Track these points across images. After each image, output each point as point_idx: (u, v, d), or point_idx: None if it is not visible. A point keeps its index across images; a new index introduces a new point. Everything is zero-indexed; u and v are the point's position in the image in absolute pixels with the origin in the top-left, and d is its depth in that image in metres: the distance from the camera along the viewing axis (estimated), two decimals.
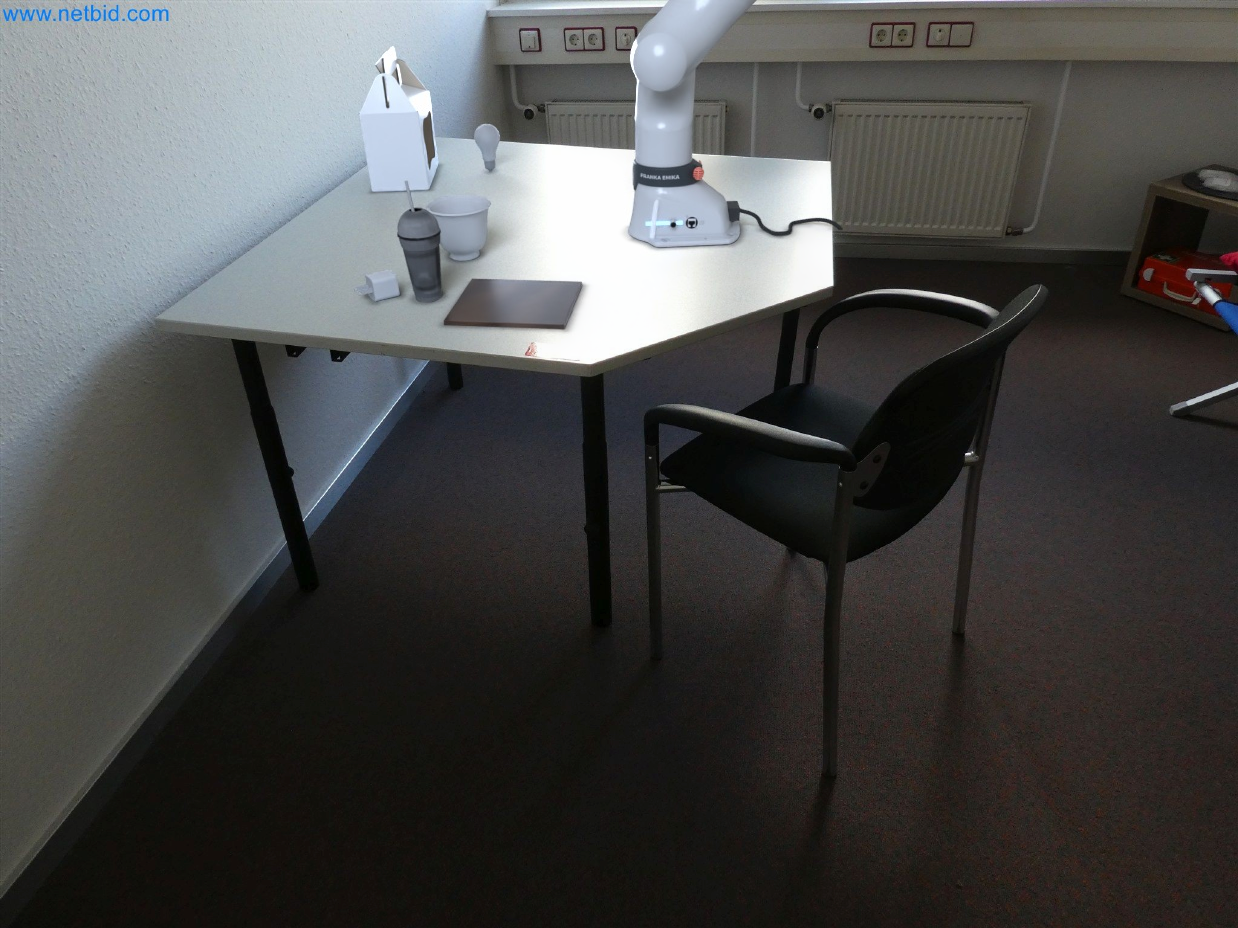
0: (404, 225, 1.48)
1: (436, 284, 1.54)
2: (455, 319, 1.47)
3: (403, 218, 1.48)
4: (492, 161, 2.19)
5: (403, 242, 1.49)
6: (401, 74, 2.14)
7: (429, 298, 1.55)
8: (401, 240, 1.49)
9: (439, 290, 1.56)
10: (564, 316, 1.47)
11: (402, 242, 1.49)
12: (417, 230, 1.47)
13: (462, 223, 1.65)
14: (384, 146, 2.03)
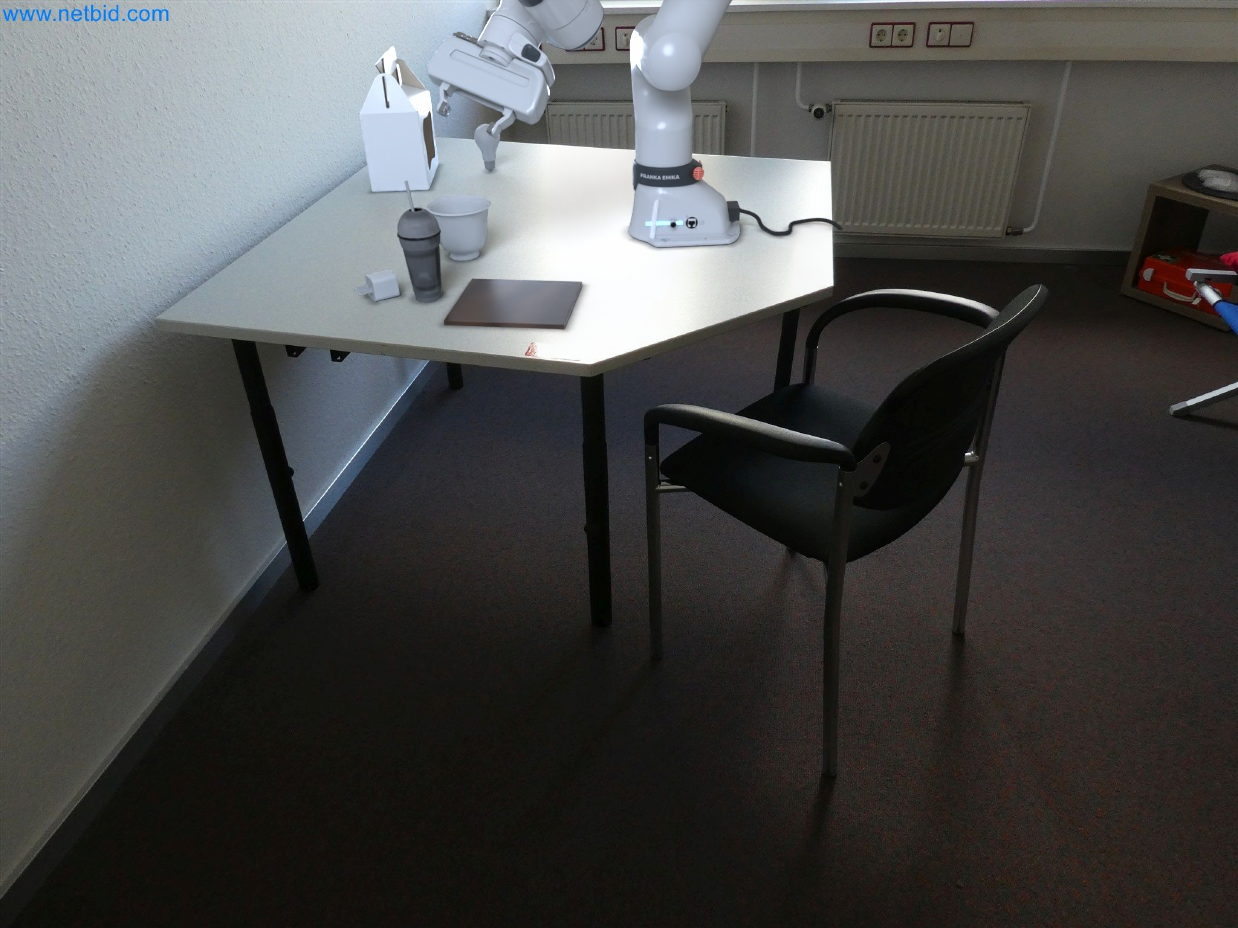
0: (404, 225, 1.48)
1: (436, 284, 1.54)
2: (455, 319, 1.47)
3: (403, 218, 1.48)
4: (492, 161, 2.19)
5: (403, 242, 1.49)
6: (401, 74, 2.14)
7: (429, 298, 1.55)
8: (401, 240, 1.49)
9: (439, 290, 1.56)
10: (564, 316, 1.47)
11: (402, 242, 1.49)
12: (417, 230, 1.47)
13: (462, 223, 1.65)
14: (384, 146, 2.03)
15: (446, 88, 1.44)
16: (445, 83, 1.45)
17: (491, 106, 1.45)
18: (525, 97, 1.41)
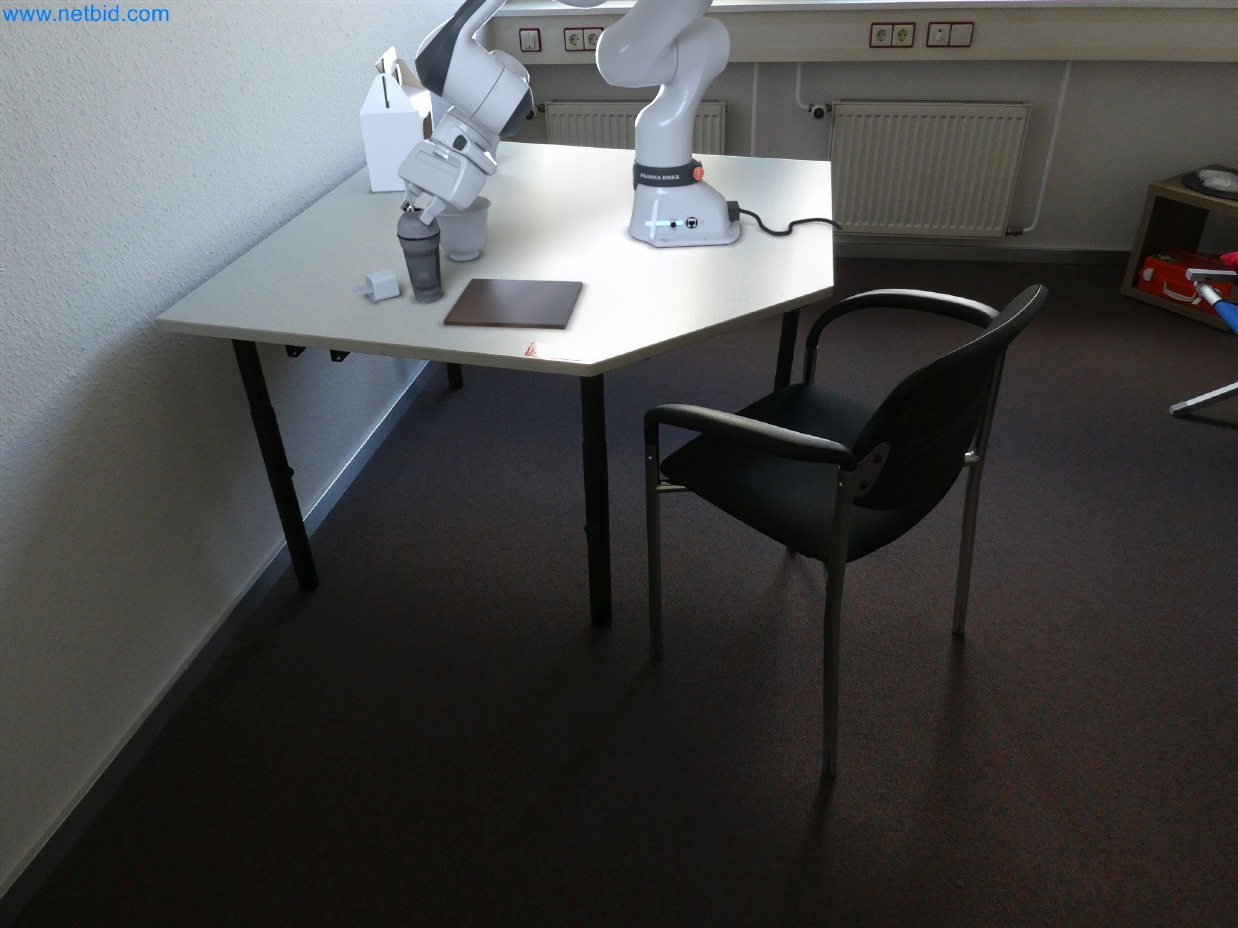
0: (404, 225, 1.48)
1: (436, 284, 1.54)
2: (455, 319, 1.47)
3: (403, 218, 1.48)
4: None
5: (403, 242, 1.49)
6: (401, 74, 2.14)
7: (429, 298, 1.55)
8: (401, 240, 1.49)
9: (439, 290, 1.56)
10: (564, 316, 1.47)
11: (402, 242, 1.49)
12: (417, 230, 1.47)
13: (462, 223, 1.65)
14: (384, 146, 2.03)
15: (410, 187, 1.51)
16: (410, 183, 1.51)
17: None
18: (450, 185, 1.42)
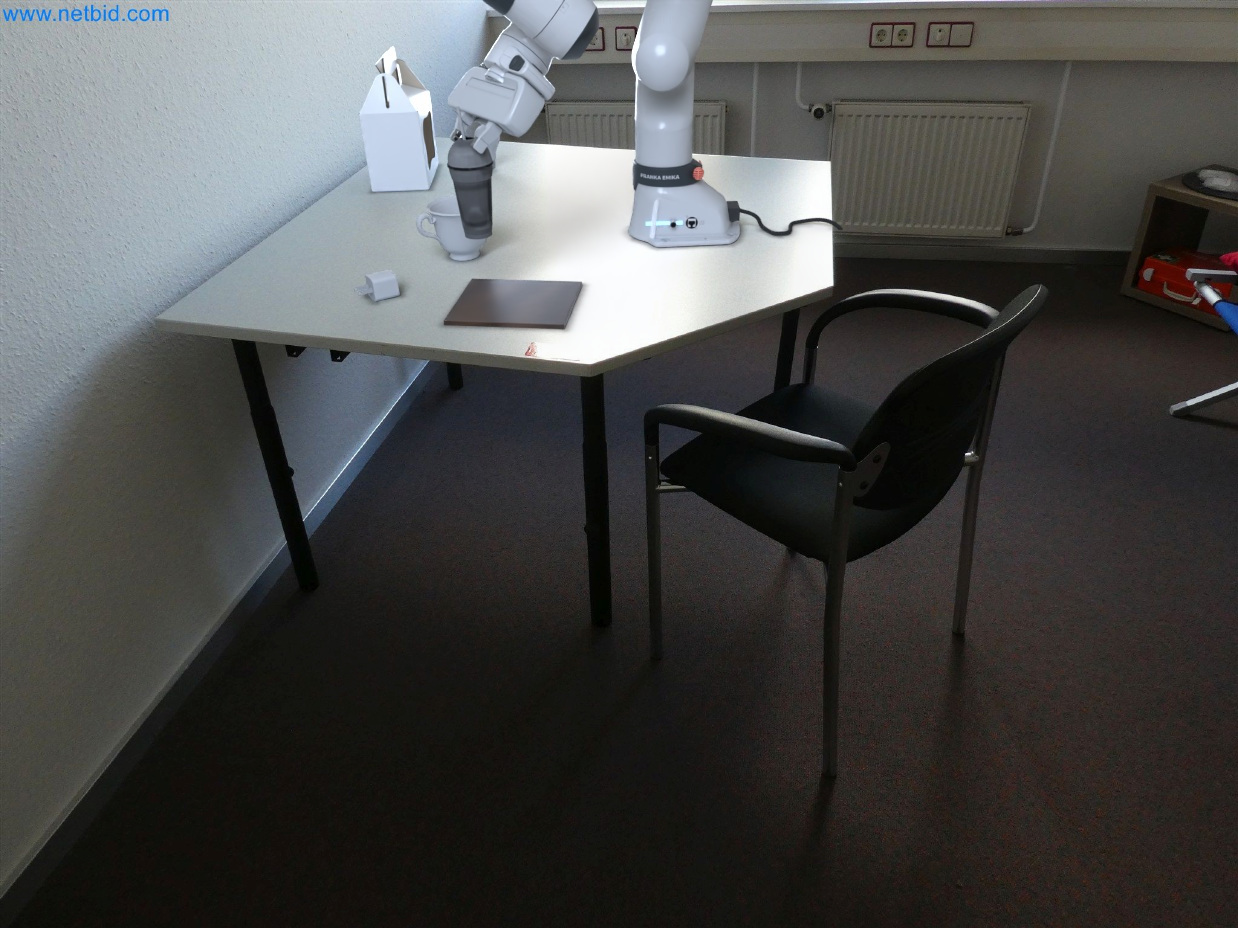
0: (456, 154, 1.39)
1: (487, 220, 1.46)
2: (455, 319, 1.47)
3: (454, 147, 1.39)
4: None
5: (454, 173, 1.41)
6: (401, 74, 2.14)
7: (480, 235, 1.46)
8: (452, 171, 1.41)
9: (490, 227, 1.47)
10: (564, 316, 1.47)
11: (453, 173, 1.41)
12: (469, 159, 1.39)
13: None
14: (384, 146, 2.03)
15: (461, 116, 1.42)
16: (461, 112, 1.43)
17: None
18: (506, 108, 1.33)
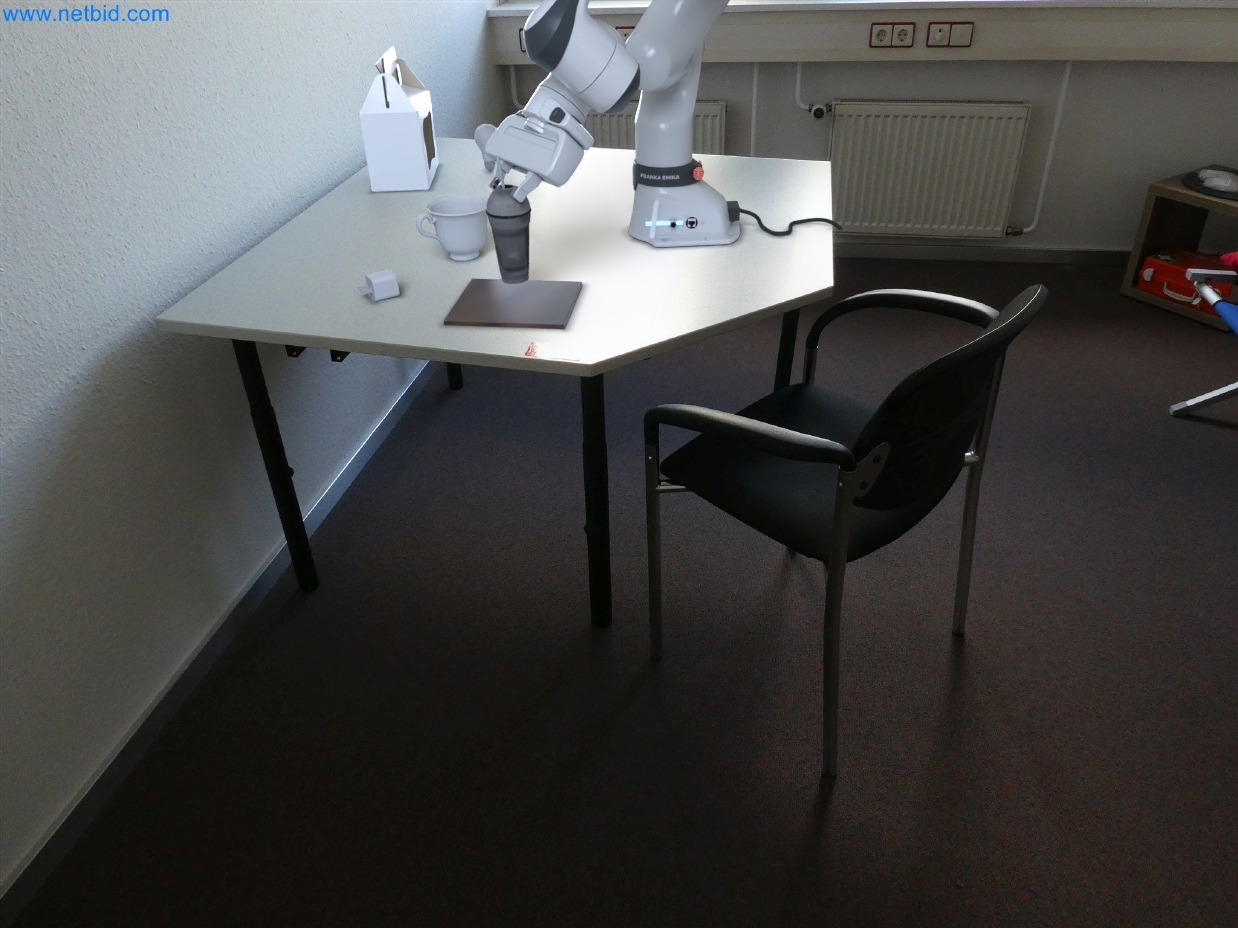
0: (496, 203, 1.41)
1: (525, 265, 1.48)
2: (455, 319, 1.47)
3: (494, 195, 1.42)
4: (492, 161, 2.19)
5: (493, 220, 1.43)
6: (401, 74, 2.14)
7: (517, 279, 1.49)
8: (491, 218, 1.43)
9: (527, 271, 1.50)
10: (564, 316, 1.47)
11: (492, 220, 1.43)
12: (509, 207, 1.41)
13: (462, 223, 1.65)
14: (384, 146, 2.03)
15: None
16: None
17: None
18: (547, 159, 1.36)
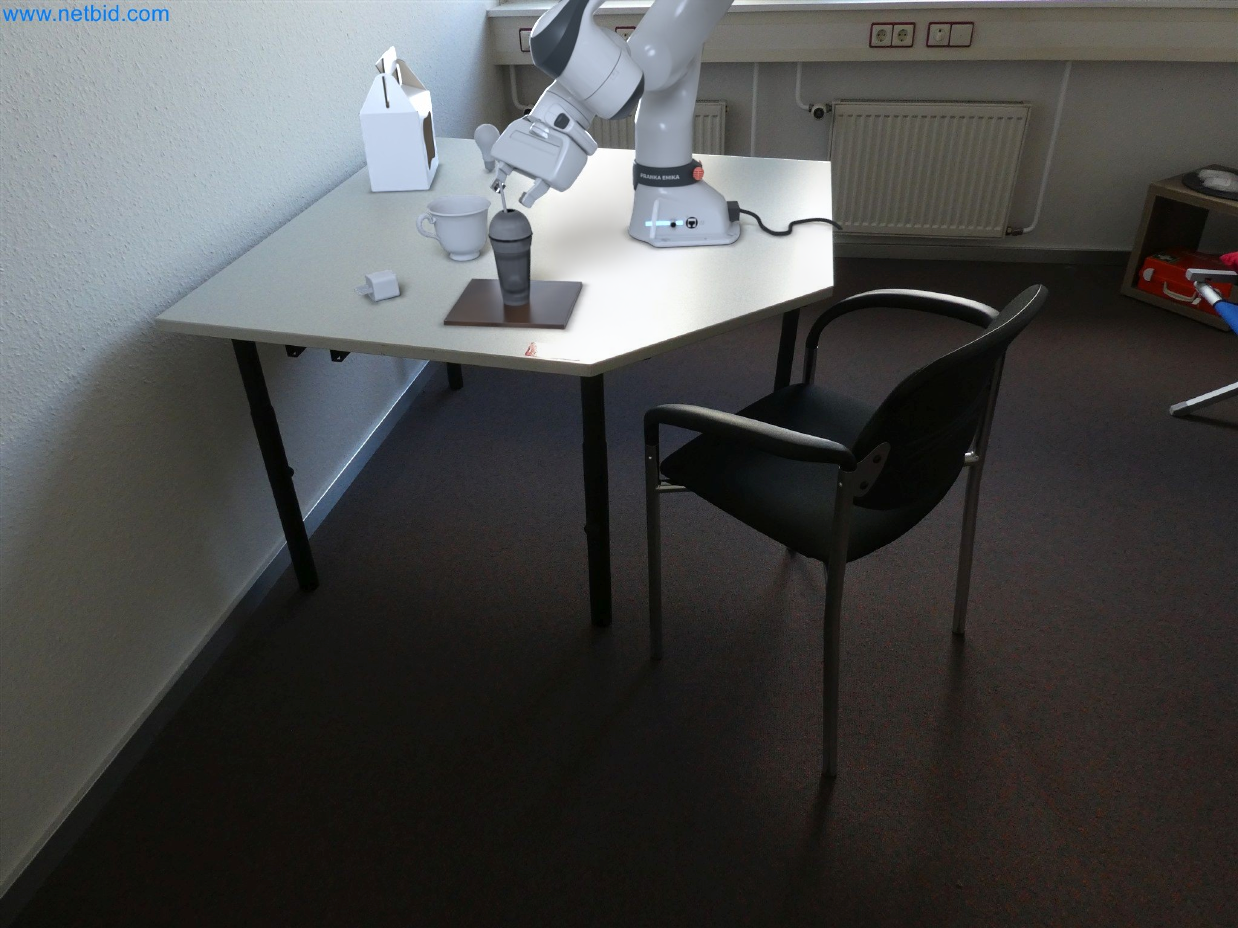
0: (498, 227, 1.44)
1: (526, 287, 1.50)
2: (455, 319, 1.47)
3: (496, 219, 1.44)
4: (492, 161, 2.19)
5: (495, 244, 1.45)
6: (401, 74, 2.14)
7: (518, 301, 1.51)
8: (493, 242, 1.45)
9: (528, 293, 1.52)
10: (564, 316, 1.47)
11: (494, 244, 1.45)
12: (511, 231, 1.43)
13: (462, 223, 1.65)
14: (384, 146, 2.03)
15: (501, 166, 1.47)
16: (501, 162, 1.48)
17: (536, 179, 1.44)
18: (551, 164, 1.38)
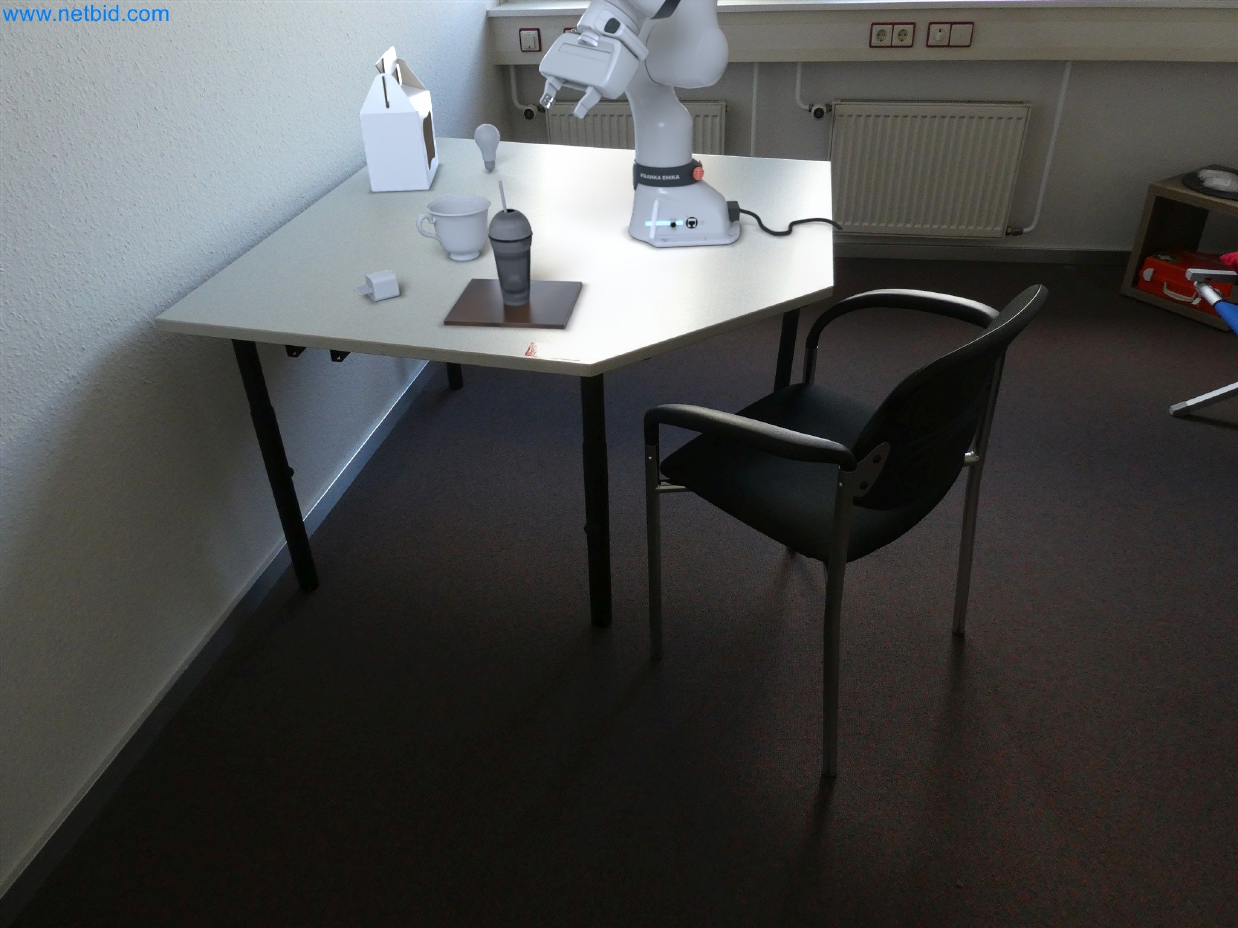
0: (498, 227, 1.44)
1: (526, 287, 1.50)
2: (455, 319, 1.47)
3: (496, 219, 1.44)
4: (492, 161, 2.19)
5: (495, 244, 1.45)
6: (401, 74, 2.14)
7: (518, 301, 1.51)
8: (493, 242, 1.45)
9: (528, 293, 1.52)
10: (564, 316, 1.47)
11: (494, 244, 1.45)
12: (511, 231, 1.43)
13: (462, 223, 1.65)
14: (384, 146, 2.03)
15: (550, 80, 1.46)
16: (550, 76, 1.46)
17: None
18: (603, 71, 1.36)
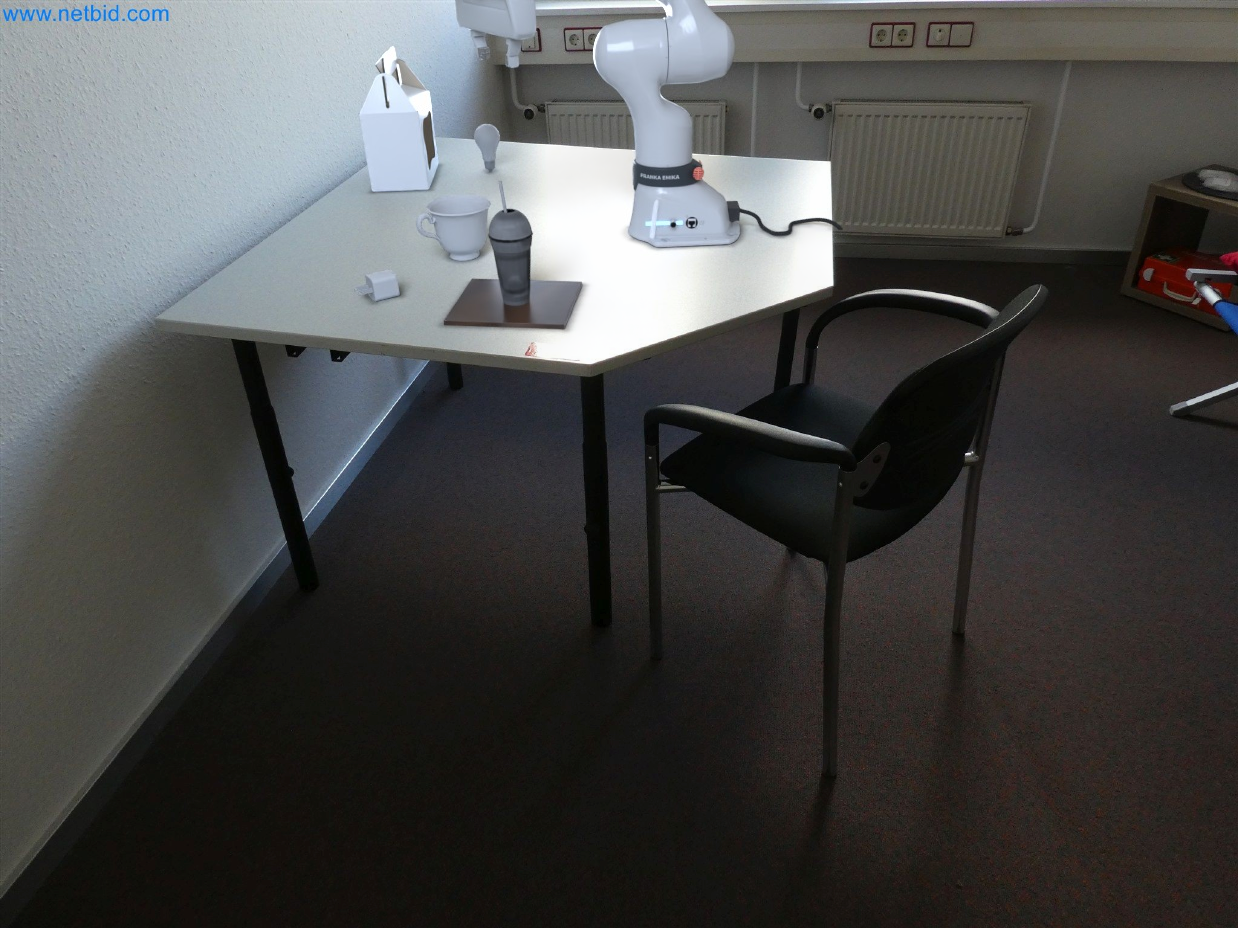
0: (498, 227, 1.44)
1: (526, 287, 1.50)
2: (455, 319, 1.47)
3: (496, 219, 1.44)
4: (492, 161, 2.19)
5: (495, 244, 1.45)
6: (401, 74, 2.14)
7: (518, 301, 1.51)
8: (493, 242, 1.45)
9: (528, 293, 1.52)
10: (564, 316, 1.47)
11: (494, 244, 1.45)
12: (511, 231, 1.43)
13: (462, 223, 1.65)
14: (384, 146, 2.03)
15: (474, 34, 1.51)
16: (471, 29, 1.51)
17: None
18: (508, 22, 1.40)
